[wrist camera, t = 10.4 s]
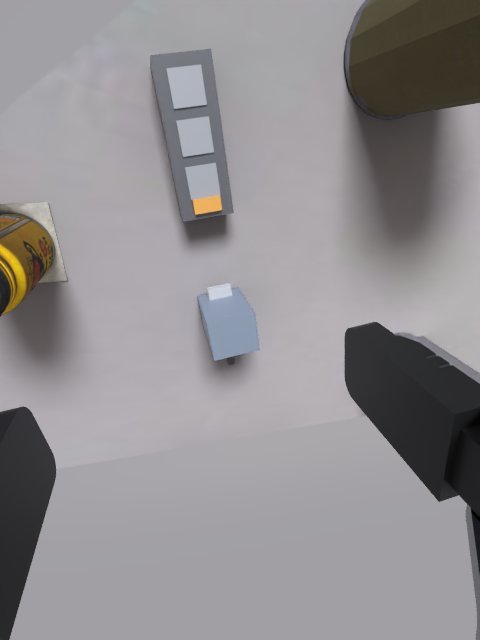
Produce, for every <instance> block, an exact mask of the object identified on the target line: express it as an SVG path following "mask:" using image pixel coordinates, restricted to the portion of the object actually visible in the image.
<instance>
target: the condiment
mask: <svg viewBox="0 0 480 640" xmlns="http://www.w3.org/2000/svg"><path fill="white" fill-rule="evenodd" d="M58 281H67V277H66V273H65V268H64V265H63V260H62V256H61V252H60V248H59V244H58V240H57V236H56V232H55V228H54V224H53V221H52V217H51V213H50V209H49V205H48V202H40V203H21V204H0V316H1V315H2V314H5V313H7V312H9V311H10V310H12V309H14V308H15V307H16V306H17V305H18V304H19V303H20V302H21V301H23V300H24V299H25V297H26V295H27V294H28V293H29V292H30V291H31V290H32V289H33V288H34V287H35V285H36V284H37V283H46V282H58Z"/></svg>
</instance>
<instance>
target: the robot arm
mask: <svg viewBox="0 0 480 640" xmlns="http://www.w3.org/2000/svg"><path fill="white" fill-rule="evenodd" d="M345 382H346V386H347V389H348V391H349V394H350V395H351V397H352V399H353V400H354V401H355V402H356V404H357V405H358V406H359V407H360V408H361V409H362V411H363V412H364V413H365V414H366V415H367V417H368V418H369V419H370V420H371V421H372V423H373V424H374V425H375V426H376V427H377V428H378V430H379V431H380V432H381V433H382V434H383V436H384V437H385V438H386V439H387V440H388V441H389V443H390V444H391V445H392V446H393V448H394V449H395V450H396V451H397V452H398V454H400V456H401V457H402V458H403V459H404V461H405V462H406V463H407V464H408V465H409V466H410V468H411V469H412V470H413V471H414V473H415V474H416V475H417V476H418V477H419V479H420V480H421V481H422V482H423V483H424V484H425V486H426V487H427V488H428V489H429V490H430V492H431V493H432V494H433V495H434V496H435V498H436V499H437V500H438V501H439V502H440V501H443V500H446V499H449V498H452V497H455V496H458V495H460V497H461V498H462V499H463V500H464V501H465V502H466V503H467V508H466V522H467V531H468V539H469V547H470V556H471V563H472V573H473V581H474V590H475V598H476V607H477V631H476V640H480V373H479V372H477V371H476V370H474V369H472V368H471V367H469V366H468V365H466V364H465V363H463V362H462V361H460V360H459V359H457V358H456V357H454V356H453V355H451V354H450V353H448V352H447V351H445V350H443V349H442V348H440V347H439V346H437V345H436V344H434V343H433V342H431V341H430V340H428V339H427V338H425V337H418V338H417V337H415V336H413V335H411V334H406V333H398V334H393V333H392V332H390V331H389V330H388V329H386V328H385V327H383V326H382V325H381V324H379V323H377V322H372V323H368V324H364V325H360V326H356V327H352V328H348V329H347V330H346V333H345ZM55 478H56V464H55V459H54V455H53V453H52V451H51V449H50V447H49V445H48V443H47V441H46V439H45V437H44V435H43V434H42V432H41V430H40V428H39V426H38V424H37V422H36V420H35V418H34V416H33V414H32V413H31V411H30V410H29V409H28V408H26V407H19V408H15V409H11V410H7V411H3V412H0V640H9V639H10V635H11V632H12V628H13V625H14V621H15V618H16V614H17V610H18V607H19V604H20V600H21V596H22V593H23V590H24V587H25V583H26V580H27V576H28V572H29V569H30V565H31V562H32V559H33V555H34V552H35V548H36V545H37V541H38V538H39V534H40V531H41V527H42V524H43V521H44V517H45V514H46V510H47V507H48V503H49V500H50V496H51V493H52V489H53V486H54V482H55Z"/></svg>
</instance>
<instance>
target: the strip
mask: <svg viewBox="0 0 480 640" xmlns="http://www.w3.org/2000/svg"><path fill="white" fill-rule="evenodd" d="M150 67H151V72H152V77H153V82H154V87H155V92H156V97H157V101H158V106H159V111H160V116H161V121H162V126H163V131H164V136H165V141H166V145H167V150H168V155H169V160H170V165H171V170H172V175H173V180H174V185H175V189H176V194H177V199H178V204H179V209H180V214H181V217H182V219H183V221H184V222H186V221H192V220H198V219H203V218H209V217H214V216H220V215H225V214H231V213H234V212H233V205H232V198H231V190H230V183H229V176H228V169H227V162H226V154H225V147H224V140H223V133H222V125H221V118H220V111H219V104H218V96H217V89H216V82H215V75H214V68H213V60H212V53H211V49H205V50H196V51H187V52H178V53H168V54H159V55H151V56H150Z"/></svg>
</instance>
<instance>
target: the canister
mask: <svg viewBox="0 0 480 640" xmlns="http://www.w3.org/2000/svg"><path fill="white" fill-rule="evenodd" d="M344 64H345V72H346V78H347V83H348V88H349V90H350V91H351V93H352V95H353V97H354V98H355V100H356V102H357V103H358V105H359V106H360V107H361V108H362V109H363V110H364V111H365V112H367V113H368V114H369V115H372V116H375V117H378V118H381V119H396V118H399V117H403V116H405V115H407V114H412V113H419V112H425V111H431V110H437V109H444V108H450V107H456V106H462V105H469V104H475V103H480V0H366V1H365V2H364V3H363V4H362V6H361V7H360V9H359V10H358V12H357V14H356V16H355V17H354V20H353V23H352V26H351V29H350V31H349V34H348V37H347V41H346V47H345V63H344Z"/></svg>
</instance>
